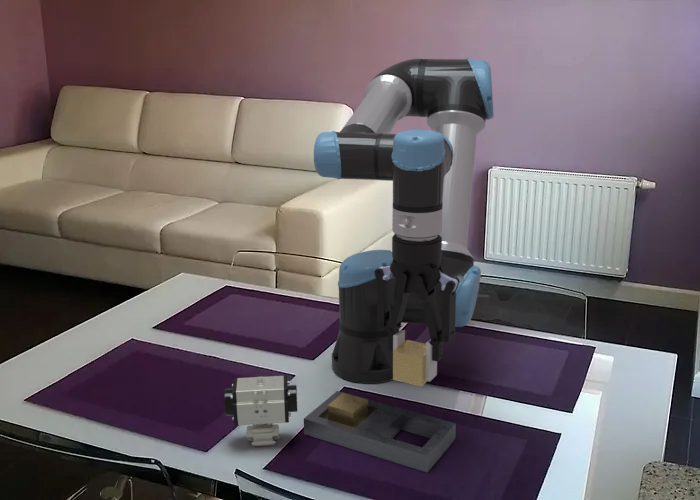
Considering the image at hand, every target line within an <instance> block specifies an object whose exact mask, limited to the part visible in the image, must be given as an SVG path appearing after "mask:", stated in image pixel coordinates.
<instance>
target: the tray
mask: <svg viewBox="0 0 700 500" xmlns="http://www.w3.org/2000/svg"><path fill="white" fill-rule="evenodd" d="M342 393H344V391H343V392H342V391H340V390H336V391H335V392H334V393H333V394H331V396H329V397H327V399H325V401H323V402H321V404H319V405H318V406H317V407H315V408H314V410H313V411H311V412H310V413H309V414H308V415H306V416H305V417H304V418H303V434H304V435H305V436H309V437H312V438H315V439H319V440H322V441H325V442H328V443H332V444H335V445H338V446H340V447H344V448H347V449H351V450H353V451H356V452H359V453H363V454H365V455H369V456H373V457H377V458H378V459H381V460H386V461H387V462H388V461H389V462H392V463H395V464H398V465H401V466H404V467H408V468H411V469H413V470H414V469H415V470H417V471H420V472H424V473H427V474H428V473H429V472H430V471H431V469H432V468H433V467H434V465H435V464H436V463H437V462H438V461H439V460H440V459H441V457H442V456H443V455H444V453H445V452H446V451H447V450H448V449H449V447H450V446H451V445H452V444H453V443H454V441H455V440H456V434H457V433H456V431H457V430H456V429H457V427H456V425H457V424H456V422H452V421H450V420H445V419H441V418H439V417H435V416H430V415H427V414H422V413H419V412H416V411H413V410H408V409H404V408H400V407H397V406H395V405H390V404H387V403H383V402H379V401H376V400H372V399H368V398H367V399H368V418H366V419H365V420H364V421H363V422H362V423H361V424H360V425H359V426H358V427H357V428H355V427H351V426H348V425H345V424H341V423H338V422H334V421H331V420H328V405H329V404H330V403H331V402H332V401H334V400H335V399H336V398H337V397H338V396H340V395H341V394H342ZM345 393H346V392H345ZM346 394H348V393H346ZM349 394H350V393H349ZM350 395H353V396H355V395H354V394H350ZM356 396H357V395H356ZM357 397H360V398H364V399H366V398H365V397H361V396H357ZM401 431H404V432H408V433H412V434H414V435H418V436H420V437H421V436H422V437H425V438H429V439H428V441H426V443H425V444H424V445H423V446H422V447H421V446H418V445H415V444H412V443H408V442H405V441H402V440H398V439H394V438H395V437H396V435H398V434H399V433H400V432H401Z"/></svg>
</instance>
